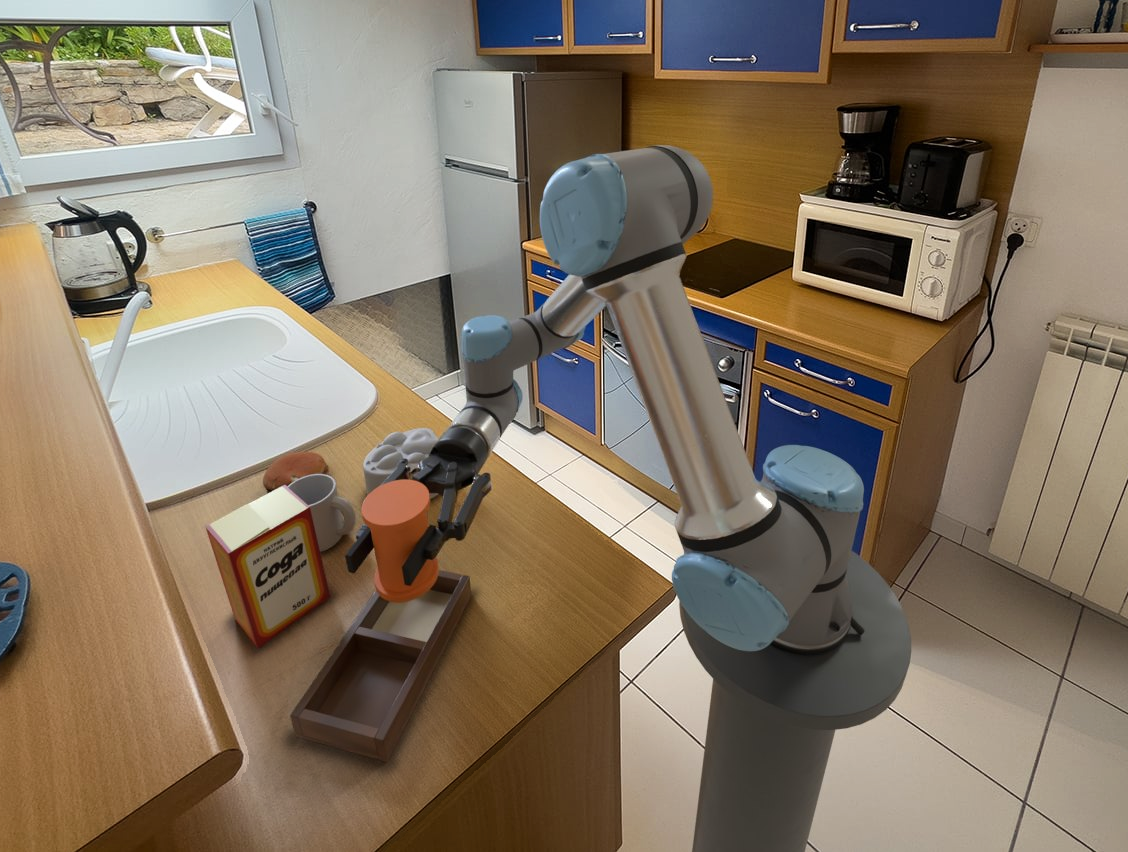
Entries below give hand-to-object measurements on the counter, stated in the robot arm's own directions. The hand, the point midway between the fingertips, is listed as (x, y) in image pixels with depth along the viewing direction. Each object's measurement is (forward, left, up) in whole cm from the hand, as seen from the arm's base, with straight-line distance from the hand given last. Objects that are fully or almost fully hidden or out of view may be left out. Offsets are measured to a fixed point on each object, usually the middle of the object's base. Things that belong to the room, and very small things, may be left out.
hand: (377, 570), depth 67 cm
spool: (0, -5, -6) cm, 8 cm away
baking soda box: (+18, -3, -15) cm, 23 cm away
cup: (+20, -15, -15) cm, 29 cm away
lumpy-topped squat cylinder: (+14, -28, -15) cm, 35 cm away
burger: (+32, -24, -15) cm, 43 cm away
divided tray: (0, 0, -14) cm, 15 cm away
